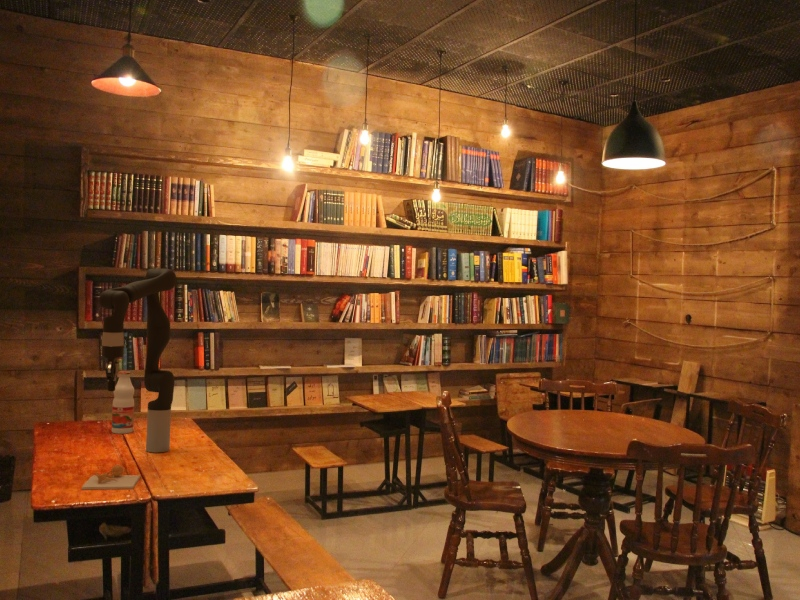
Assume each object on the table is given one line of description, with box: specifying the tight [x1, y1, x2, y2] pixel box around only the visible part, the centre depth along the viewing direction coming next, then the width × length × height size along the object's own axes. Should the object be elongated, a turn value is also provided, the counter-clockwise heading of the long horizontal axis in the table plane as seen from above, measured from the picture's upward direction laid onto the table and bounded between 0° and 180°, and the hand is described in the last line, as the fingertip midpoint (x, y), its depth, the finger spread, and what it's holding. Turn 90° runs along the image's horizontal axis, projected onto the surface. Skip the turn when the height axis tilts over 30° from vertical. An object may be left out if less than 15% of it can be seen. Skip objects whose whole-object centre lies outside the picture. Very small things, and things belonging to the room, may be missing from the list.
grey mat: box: [80, 474, 141, 491], centre depth 243 cm, size 15×16×1 cm
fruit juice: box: [111, 370, 135, 435], centre depth 330 cm, size 9×9×28 cm
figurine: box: [94, 464, 124, 483], centre depth 245 cm, size 8×6×12 cm
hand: (111, 390), depth 264 cm, fingers closed
